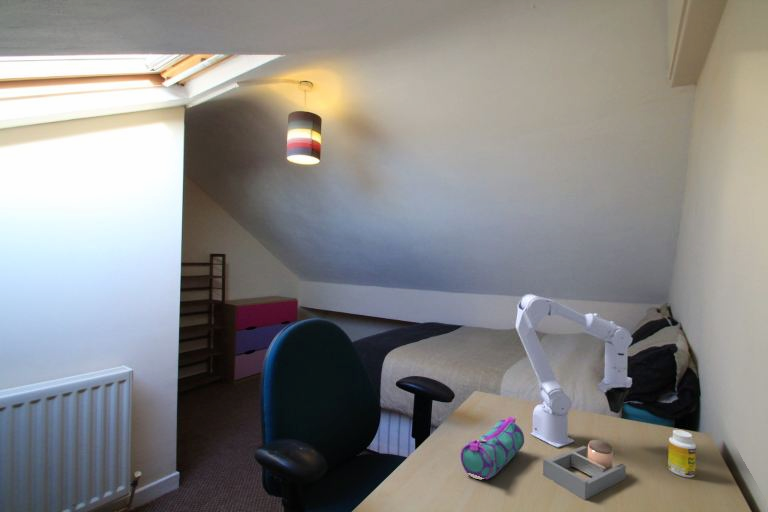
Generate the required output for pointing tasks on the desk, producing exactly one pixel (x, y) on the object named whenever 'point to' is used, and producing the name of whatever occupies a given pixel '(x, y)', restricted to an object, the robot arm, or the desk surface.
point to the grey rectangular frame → (576, 484)
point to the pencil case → (492, 449)
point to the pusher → (586, 465)
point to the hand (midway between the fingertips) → (614, 411)
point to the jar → (600, 453)
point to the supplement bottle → (682, 454)
